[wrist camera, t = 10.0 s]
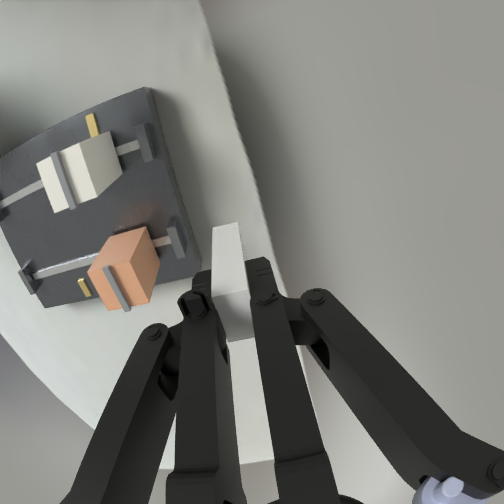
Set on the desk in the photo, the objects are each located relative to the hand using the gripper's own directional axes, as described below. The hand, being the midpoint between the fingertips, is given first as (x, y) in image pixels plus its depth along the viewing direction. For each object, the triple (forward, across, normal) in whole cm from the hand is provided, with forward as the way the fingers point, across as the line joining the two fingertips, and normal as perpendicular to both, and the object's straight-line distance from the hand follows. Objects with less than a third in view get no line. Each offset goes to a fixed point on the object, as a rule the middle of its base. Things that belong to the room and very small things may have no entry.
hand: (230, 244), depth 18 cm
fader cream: (+3, -7, +7) cm, 10 cm away
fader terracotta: (+3, -7, 0) cm, 7 cm away
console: (+5, -11, +4) cm, 13 cm away
